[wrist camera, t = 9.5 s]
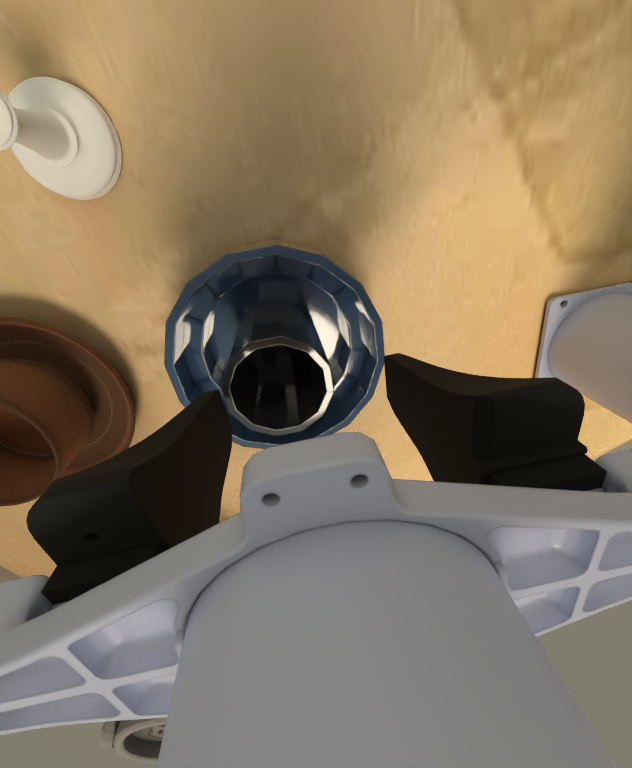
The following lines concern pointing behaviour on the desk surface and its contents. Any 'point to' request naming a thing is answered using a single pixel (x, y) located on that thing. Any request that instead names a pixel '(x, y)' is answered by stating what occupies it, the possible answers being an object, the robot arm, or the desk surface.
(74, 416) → the cup and saucer
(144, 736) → the beverage can
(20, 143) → the chess piece
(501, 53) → the desk surface
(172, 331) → the bowl
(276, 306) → the cup
